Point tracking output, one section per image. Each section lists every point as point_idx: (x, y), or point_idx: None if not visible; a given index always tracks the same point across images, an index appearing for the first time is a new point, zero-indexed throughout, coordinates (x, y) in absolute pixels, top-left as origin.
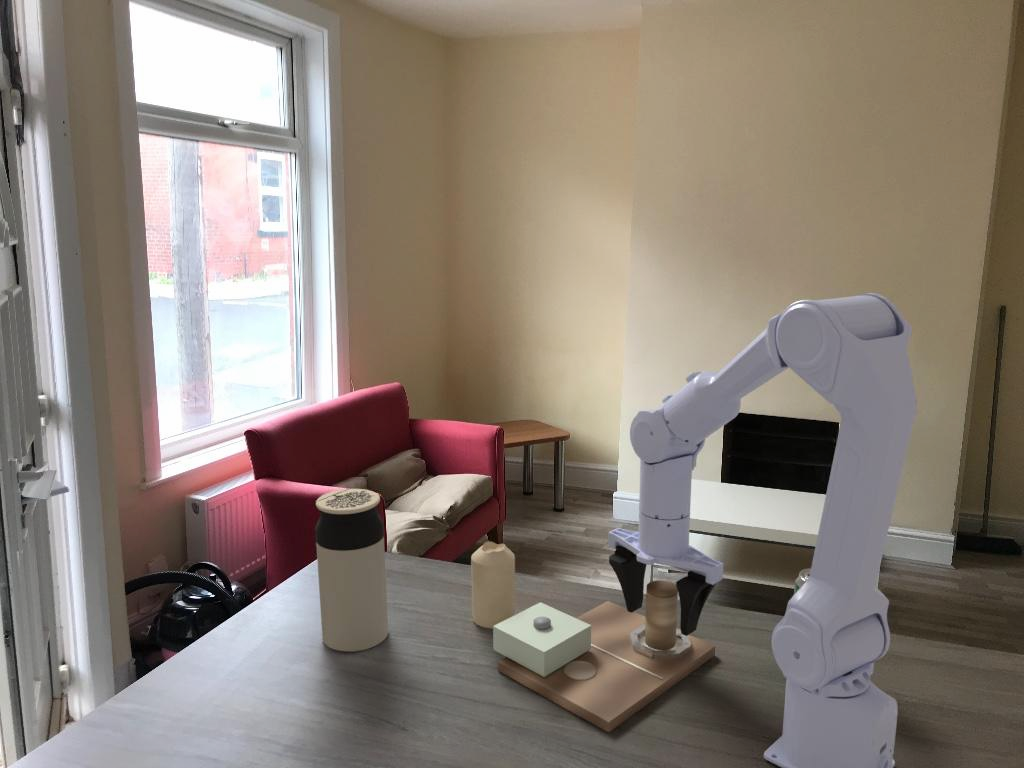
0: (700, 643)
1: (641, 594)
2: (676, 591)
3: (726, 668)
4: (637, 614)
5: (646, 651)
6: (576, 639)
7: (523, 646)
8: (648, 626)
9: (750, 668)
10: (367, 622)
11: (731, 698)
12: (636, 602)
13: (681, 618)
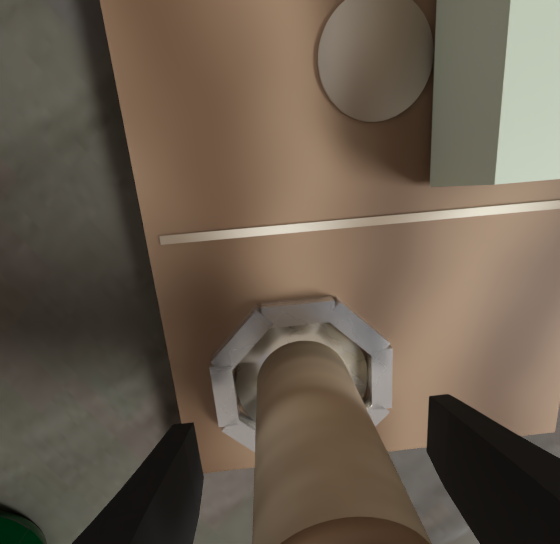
0: (226, 456)
1: (460, 499)
2: None
3: (139, 430)
4: None
5: (284, 305)
6: (482, 75)
7: None
8: (328, 380)
9: (104, 469)
10: None
11: (31, 342)
12: (446, 448)
13: (159, 476)
